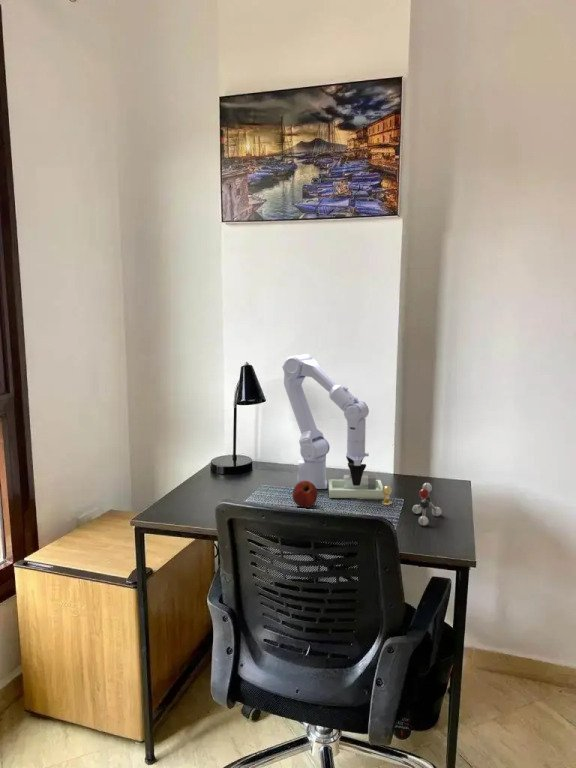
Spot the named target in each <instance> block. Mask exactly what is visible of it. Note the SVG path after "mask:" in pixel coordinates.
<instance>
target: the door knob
mask: <svg viewBox="0 0 576 768" xmlns="http://www.w3.org/2000/svg"><path fill="white" fill-rule="evenodd" d="M382 492H383V494H384V499H383V500H382V501H381V505H382V504H384V505H383V506H386V505H389V506H391V505H392V501H391V500H390V495H391V494H392V488H391V486H390V485H385V486H384V485H383V489H382ZM390 504H391V505H390Z"/></svg>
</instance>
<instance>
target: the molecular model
mask: <svg viewBox="0 0 576 768" xmlns="http://www.w3.org/2000/svg"><path fill="white" fill-rule="evenodd" d="M432 490H433V486H432V484H431V483H429V482H424V483H423V484H422V488H421V489H420V490H419V491H418V495H419V497H420V498H421V499H420V500H421V501H420V502H419V504H414V505H413V506H412V509H411V510H412V512H413V513H414V514H416V515H420V514H421V513H422V514H421V515H420V516H419V517H418V524H419V525H420V526H422V527H424V526H427V525H428V524H429V518H428V517H427V516H426V512H427V511H426V510H427V509H429V507H430V508H431V513H432V515H433V516H435V517H439V516H441V514H442V509H441V507H438V506H434V504H433V502H432V498H431V496H430V492H431V491H432Z"/></svg>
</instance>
